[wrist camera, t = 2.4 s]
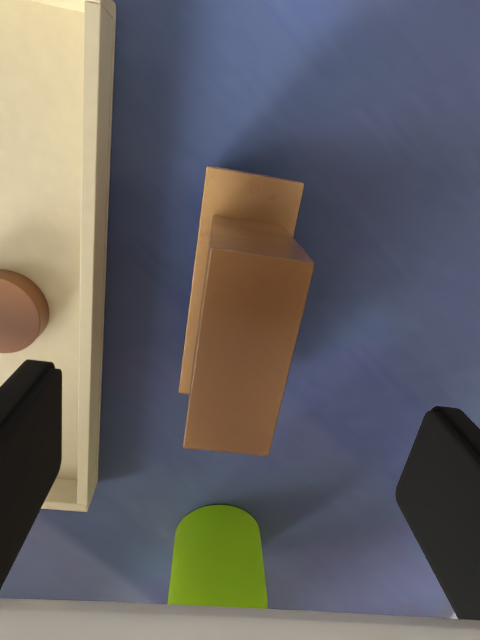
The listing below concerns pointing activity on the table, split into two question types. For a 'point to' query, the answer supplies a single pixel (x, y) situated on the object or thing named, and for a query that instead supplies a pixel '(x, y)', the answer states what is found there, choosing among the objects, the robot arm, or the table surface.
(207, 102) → the table surface
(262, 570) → the lime green pump bottle
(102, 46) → the tray
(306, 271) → the brush
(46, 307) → the cork disc
